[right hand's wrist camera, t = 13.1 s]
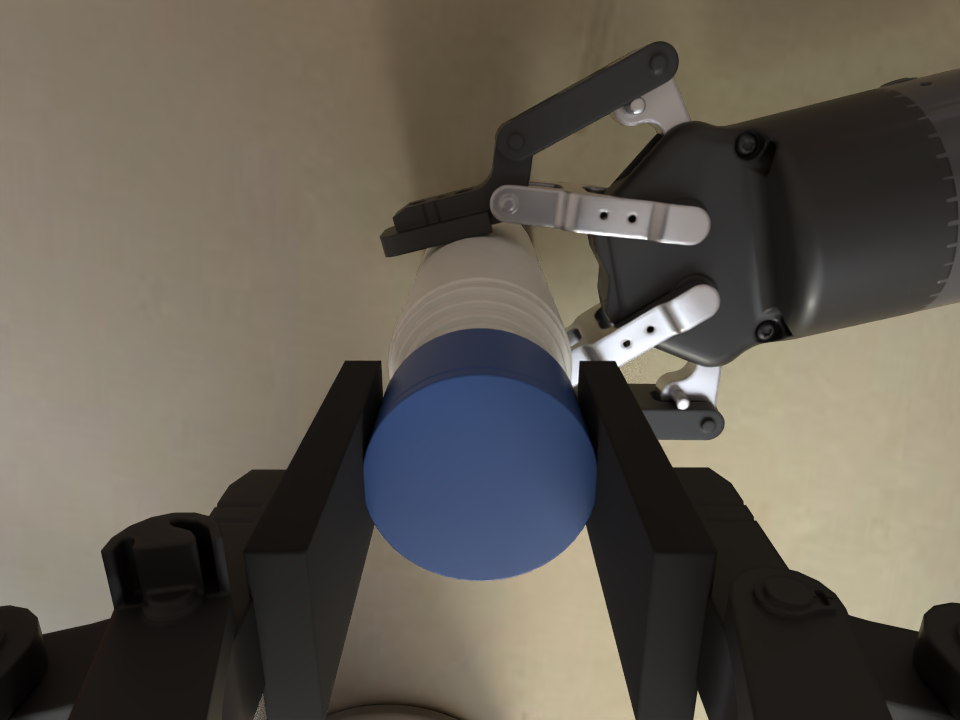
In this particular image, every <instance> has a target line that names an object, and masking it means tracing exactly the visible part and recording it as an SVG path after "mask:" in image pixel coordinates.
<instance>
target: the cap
mask: <svg viewBox="0 0 960 720" xmlns="http://www.w3.org/2000/svg"><path fill="white" fill-rule="evenodd" d="M363 472H364V487H365V500H366V506H367V509H368V511H369V514H370V516H371V518H372V520H373V522H374V524H375V525H376V527H377V529H378V530H379V532H380V533H381V534H382V536H383V537H384V538H385V540H386V541H387V542H388V543H389V544H390V545H391V546H392V547H393V548H394V549H395V550H396V551H398V552H399V553H400V554H401V555H402V556H404V557H405V558H406V559H408V560H410V561H411V562H413V563H414V564H416V565H418V566H420V567H422V568H424V569H426V570H428V571H430V572H433V573H436V574H439V575H442V576H445V577H450V578H454V579H459V580H468V581H492V580H501V579H506V578H511V577H515V576H518V575H521V574H524V573H527V572H530V571H532V570H534V569H536V568H539V567H541V566H543V565H544V564H546V563H548V562H549V561H551V560H552V559H554V558H555V557H557V556H558V555H559V554H560V553H562V552H563V551H564V550H565V549H566V548H567V547H568V546H569V545H570V544H571V543H572V542H573V541H574V540H575V539H576V537H577V536H578V535H579V533H580V532H581V531H582V529H583V528H584V526H585V524H586V522H587V521H588V519H589V517H590V515H591V512H592V510H593V507H594V504H595V493H596V478H597V458H596V454H595V449H594V446H593V443H592V440H591V438H590V435H589V432H588V429H587V426H586V423H585V420H584V417H583V414H582V411H581V408H580V405H579V402H578V399H577V396H576V393H575V391H574V388H573V385H572V383H571V381H570V379H569V377H568V376H567V374H566V372H565V371H564V369H563V368H562V367H561V366H560V364H559V363H558V362H557V361H556V360H555V359H554V358H553V357H552V356H551V355H550V354H549V353H548V352H547V351H545V350H544V349H543V348H541V347H540V346H539V345H537V344H535V343H534V342H532V341H530V340H528V339H527V338H524V337H522V336H519V335H517V334H514V333H510V332H506V331H503V330H497V329H489V328H472V329H464V330H458V331H454V332H450V333H446V334H444V335H441V336H439V337H436V338H434V339H432V340H430V341H428V342H427V343H425V344H423V345H422V346H420V347H419V348H418V349H416V350H415V351H413V352H412V353H411V354H410V355H409V356H408V357H407V358H406V359H405V360H404V361H403V362H402V363H401V365H400V366H399V367H398V369H397V370H396V371H395V373H394V375H393V376H392V378H391V380H390V381H389V384H388V386H387V389H386V391H385V394H384V397H383V400H382V403H381V406H380V409H379V412H378V415H377V418H376V421H375V424H374V427H373V430H372V433H371V436H370V439H369V442H368V444H367V447H366V451H365V455H364V459H363Z"/></svg>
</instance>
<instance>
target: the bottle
mask: <svg viewBox="0 0 960 720" xmlns="http://www.w3.org/2000/svg"><path fill="white" fill-rule="evenodd" d="M492 230H493V233H489V234H484V235H480V236H476V237H472V238H466V239H462V240H458V241H455V242H452V243H447V244H443V245H439V246H435V247H431V248H427V249H426V252H425V254H424V257H423V259H422V262H421V265H420V267H419V270H418V272H417V275H416V277H415V280H414V283H413V285H412V288H411V290H410V293H409V295H408V298H407V301H406V303H405V306H404V308H403V311H402V313H401V316H400V319H399V321H398V324H397V326H396V329H395V332H394V334H393V337H392V340H391V344H390V348H389V356H388V370H389V381H390V380H391V378H392V376H393V375H394V373H395V371H396V370H397V369H398V367H399V366H400V365H401V363H402V362H403V361H404V360H405V359H406V358H407V357H408V356H409V355H410V354H411V353H412V352H413V351H415V350H416V349H418V348H419V347H420V346H422V345H423V344H425V343H427V342H428V341H430V340H432V339H434V338H436V337H439V336H441V335H444V334H446V333H450V332H454V331H458V330H464V329H472V328H489V329H497V330H503V331H506V332H510V333H514V334H517V335H519V336H522V337H524V338H527V339H528V340H530V341H532V342H534V343H535V344H537V345H539V346H540V347H541V348H543V349H544V350H545V351H547V352H548V353H549V354H550V355H551V356H552V357H553V358H554V359H555V360H556V361H557V362H558V363H559V364H560V366H561V367H562V368H563V369H564V371H565V372H566V374H567V376H568V377H569V379H570V381H571V374H572V352H571V346H570V342H569V338H568V336H567V333H566V330H565V328H564V325H563V323H562V320H561V317H560V315H559V312H558V310H557V307H556V305H555V302H554V299H553V297H552V294H551V292H550V289H549V287H548V284H547V281H546V279H545V276H544V274H543V271H542V268H541V266H540V263H539V261H538V258H537V256H536V253H535V250H534V248H533V245H532V243H531V240H530V238H529V236H528V234H527V232H526V230H525V229H524V228H523V227H522V225H521V224H513V223H505V222H502V223H498V224H494V225H492Z"/></svg>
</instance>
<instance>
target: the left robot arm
mask: <svg viewBox="0 0 960 720" xmlns="http://www.w3.org/2000/svg"><path fill="white" fill-rule="evenodd" d="M678 63H679V59H678V54H677V52H676V50H675V49H674V47H673V46H672V45H670V44H669V43H666V42H662V41H659V42H654V43H651V44H649V45H646V46H644V47H641V48H639V49H636V50H634V51H632V52H630V53H628V54H627V55H625V56H623V57H621V58H619V59H618V60H616V61H614V62H612V63H610V64H609V65H607V66H605V67H603V68H601V69H600V70H598V71H596V72H594V73H592V74H591V75H589V76H587V77H585V78H584V79H582V80H580V81H578V82H576V83H575V84H573V85H571V86H569V87H567V88H566V89H564V90H562V91H560V92H558V93H557V94H555V95H553V96H551V97H549V98H548V99H546V100H544V101H542V102H540V103H539V104H537V105H535V106H533V107H532V108H530V109H528V110H526V111H524V112H523V113H521V114H519V115H517V116H515V117H514V118H512V119H510V120H508V121H506V122H505V123H503V124H502V125H501V126H500V127H499V128H498V130H497V132H496V136H495V148H494V157H493V166H492V170H491V173H490V175H489V177H488V178H487V179H486V180H485V181H484V182H483V183H481V184H480V185H477V186H474V187H470V188H466V189H462V190H458V191H454V192H450V193H446V194H442V195H439V196H434V197H430V198H427V199H422V200H418V201H414V202H410V203H409V204H407V205H406V206H405V207H403V208H402V209H401V210H399V211H398V212H397V213H396V214H395V215H394V217H393V221H394V224H395V226H393V227H390V228H388V229H386V230H385V231H384V232H383V233H382V234H381V236H380V239H381V243H382V246H383V249H384V253H385V256H386V257H393V256H398V255H402V254H406V253H410V252H415V251H419V250H423V249H427V248H431V247H435V246H439V245H443V244H447V243H452V242H455V241H458V240H462V239H466V238H472V237H476V236H480V235H484V234H489V233H493V230H492V225H494V224H498V223H502V222H505V223H513V224H522V225H532V226H542V227H551V228H558V229H562V230H565V231H569V232H576V233H586V234H588V239H589V244H590V247H591V249H592V251H593V253H594V255H595V257H596V259H597V261H598V263H599V274H598V286H597V287H598V292H599V298H600V303H599V304H597V305H595V306H594V307H592V308H591V309H589V310H587V311H586V312H584V313H582V314H581V315H580V316H578V317H577V318H576V319H575V321H574V322H573V324H572V325H570V326H569V327H567V328H566V329H565V330H566V333H567V336H568V338H569V342H570V346H571V352H572V374H571V383H572V385H573V388H574V391H575V393H576V396H577V394H578V376H579V361H616V363H617V365H618V367H620V366H622V365H624V364H625V363H627V362H629V361H631V360H632V359H634V358H636V357H637V356H639V355H641V354H642V353H644V352H646V351H648V350H649V349H651V348H653V347H654V348H657V349H659V350H662V351H664V352H667V353H669V354H672V355H674V356H677V357H679V358H682V359H684V360H687V361H688V362H687V364H686V365H685V366H684V367H683V368H682V369H680V370H678V371H675V372H669V373H666V374H664V375H662V376H661V377H660V378H659V379H658V380H657V382H656V384H628V386H629V387H630V389H631V391H632V393H633V395H634V397H635V399H636V400H637V402H638V404H639V406H640V408H641V410H642V412H643V413H644V415H645V417H646V419H647V421H648V423H649V425H650V426H651V428H652V430H653V432H654V434H655V436H656V438H657V439H658V440H710V439H713V438H715V437H717V436H718V435H719V434H720V433H721V432H722V431H723V429H724V425H725V422H724V418H723V416H722V415H721V414H720V412H719V411H718V409H717V407H716V402H717V395H718V388H719V381H720V374H721V367H722V366H723V365H725V364H728V363H730V362H731V361H733V360H734V359H735V358H737V357H738V356H739V355H740V354H742V353H743V352H745V351H746V350H748V349H750V348H752V347H754V346H756V345H758V344H762V343H768V342H776V341H785V340H791V339H797V338H801V337H806V336H810V335H815V334H819V333H823V332H828V331H832V330H837V329H841V328H846V327H850V326H855V325H859V324H864V323H868V322H872V321H877V320H882V319H887V318H891V317H896V316H900V315H905V314H909V313H913V312H917V311H922V310H926V309H931V308H935V307H940V306H944V305H949V304H953V303H958V302H960V69H955V70H951V71H946V72H942V73H937V74H933V75H929V76H925V77H921V78H903V79H899V80H895V81H892V82H889V83H886V84H884V85H882V86H881V87H880V88H878V89H873V90H869V91H865V92H861V93H857V94H853V95H849V96H845V97H841V98H837V99H833V100H829V101H825V102H821V103H817V104H813V105H809V106H805V107H801V108H797V109H793V110H789V111H785V112H781V113H777V114H773V115H769V116H765V117H761V118H757V119H753V120H749V121H745V122H741V123H737V124H733V125H728V126H714V125H710V124H707V123H704V122H700V121H691V120H690V117H689V115H688V112H687V110H686V107H685V105H684V102H683V99H682V97H681V94H680V92H679V89H678V87H677V84H676V82H675V79H674V77H673V76H674V75H675V73H676V71H677V69H678ZM608 114H610V116H611V117H612V119H613V120H614V121H615V122H616V123H618V124H620V125H626V126H635V125H639V124H641V123H648V124H650V125H652V126H653V127H654V128H655V130H656V132H657V134H656V135H655V136H654V137H653V139H652V140H651V141H650V142H649V143H648V144H647V145H646V146H645V148H644V149H643V150H642V151H641V152H640V153H639V154H638V155H637V157H636V158H635V159H634V160H633V161H632V162H631V163H630V164H629V165H628V167H627V168H626V169H625V170H624V171H623V172H622V173H621V174H620V176H619V177H618V178H617V179H616V180H615V181H614V182H613V183H612V185H611V186H610V187H602V186H593V185H583V184H574V183H563V182H558V183H554V182H544V181H534V180H529V179H530V172H531V164H532V157H533V155H534V154H536V153H538V152H540V151H542V150H544V149H545V148H547V147H549V146H551V145H553V144H555V143H556V142H558V141H560V140H562V139H564V138H566V137H568V136H569V135H571V134H573V133H575V132H577V131H579V130H580V129H582V128H584V127H586V126H588V125H590V124H591V123H593V122H595V121H597V120H599V119H601V118H602V117H604V116H606V115H608ZM625 340H627V341H626V342H624V341H625Z"/></svg>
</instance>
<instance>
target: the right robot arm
mask: <svg viewBox="0 0 960 720" xmlns="http://www.w3.org/2000/svg"><path fill="white" fill-rule="evenodd" d="M577 399H578V402H579V405H580V408H581V411H582V414H583V417H584V420H585V423H586V426H587V429H588V432H589V435H590V438H591V440H592V443H593V446H594V449H595V454H596V458H597V478H596V493H595V504H594V507H593V510H592V512H591V515H590V517H589V519H588V521H587V522H586V527H587V531H588V535H589V539H590V542H591V546H592V550H593V554H594V558H595V562H596V566H597V570H598V574H599V578H600V582H601V586H602V590H603V593H604V597H605V601H606V605H607V609H608V613H609V617H610V621H611V625H612V629H613V633H614V637H615V641H616V645H617V648H618V652H619V656H620V660H621V664H622V668H623V672H624V676H625V680H626V684H627V688H628V692H629V696H630V700H631V703H632V707H633V711H634V715H635V719H636V720H693V718H694V711H695V704H696V698H697V691H698V692H699V695H700V698H701V700H702V703H703V706H704V708H705V711H706V714H707V716H708V719H709V720H960V603H947V604H941V605H936V606H933V607H932V608H931V609H930V610H929V611H927V612H926V613H925V614H924V616H923V620H922V623H921V627H920V630H919V632H918V631H913V630H909V629H904V628H899V627H895V626H890V625H885V624H881V623H876V622H872V621H868V620H864V619H861V618H857V617H854V616H850V615H848V612H847V610H846V608H845V607H844V605H843V604H842V602H841V601H840V600H839V598H838V597H837V595H836V594H835V593H834V592H832V591H831V590H830V589H828V588H827V587H826V586H824V585H823V584H822V583H820V582H819V581H817V580H815V579H813V578H811V577H809V576H806V575H804V574H802V573H800V572H798V571H793V570H789V568H788V567H787V565H786V564H785V562H784V561H783V559H782V558H781V556H780V555H779V554H778V552H777V551H776V549H775V548H774V546H773V545H772V543H771V542H770V540H769V539H768V537H767V536H766V534H765V533H764V531H763V530H762V528H761V527H760V525H759V524H758V522H757V521H754V516H753V515H752V513H751V512H750V510H749V509H748V507H747V506H746V505H744V503H743V502H744V501H743V500H742V498H741V497H740V496H739V494H738V493H737V491H736V490H735V488H734V487H733V485H732V484H731V483H730V482H729V481H727V480H726V479H724V478H723V477H722V476H720V475H719V474H717V473H716V472H714V471H713V470H711V469H710V468H673V467H672V465H671V464H670V462H669V460H668V458H667V456H666V454H665V452H664V451H663V449H662V447H661V445H660V443H659V441H658V439H657V438H656V436H655V434H654V432H653V430H652V428H651V426H650V425H649V423H648V421H647V419H646V417H645V415H644V413H643V412H642V410H641V408H640V406H639V404H638V402H637V400H636V399H635V397H634V395H633V393H632V391H631V389H630V387H629V386H628V384H627V382H626V380H625V378H624V376H623V374H622V373H621V371H620V369H619V367H618V365H617V363H616V361H579V376H578V394H577ZM382 400H383V387H382V368H381V361H345V362H344V364H343V366H342V368H341V370H340V371H339V373H338V375H337V377H336V379H335V381H334V383H333V384H332V386H331V388H330V390H329V392H328V394H327V396H326V397H325V399H324V401H323V403H322V405H321V407H320V409H319V410H318V412H317V414H316V416H315V418H314V420H313V422H312V424H311V425H310V427H309V429H308V431H307V433H306V435H305V437H304V438H303V440H302V442H301V444H300V446H299V448H298V450H297V451H296V453H295V455H294V457H293V459H292V461H291V463H290V464H289V466H288V468H287V470H251V471H249V472H248V473H247V474H245V475H244V476H242V477H241V478H239V479H238V480H237V481H235V482H234V483H232V484H231V485H229V487H228V488H227V490H226V491H225V493H224V494H223V496H222V497H221V499H220V500H219V502H218V503H217V507H215V508H214V509H213V511H212V512H211V514H210V515H209V516H206V515H202V514H198V513H170V514H165V515H161V516H156V517H151V518H149V519H146V520H144V521H141V522H139V523H136V524H133V525H131V526H129V527H127V528H126V529H124V530H123V531H121V532H120V533H118V534H117V535H115V536H114V537H112V538H111V539H110V541H109V542H108V543H107V544H106V545H105V547H104V548H103V549H102V550H101V554H102V558H103V562H104V567H105V571H106V575H107V579H108V584H109V588H110V592H111V597H112V601H113V605H114V611H113V614H112V616H111V618H110V619H107V620H103V621H100V622H96V623H93V624H88V625H84V626H79V627H75V628H70V629H65V630H61V631H56V632H52V633H47V634H42V632H41V628H40V625H39V621H38V618H37V617H36V616H35V615H34V614H33V613H32V612H31V611H30V610H28V609H26V608H21V607H15V606H10V605H9V606H0V720H253V718H254V716H255V713H256V710H257V707H258V705H259V702H260V699H261V697H262V694H263V695H264V701H265V708H266V715H267V720H457V719H455V718H452V717H450V716H448V715H445V714H442V713H439V712H436V711H432V710H428V709H424V708H419V707H412V706H404V705H370V706H363V707H356V708H352V709H347V710H343V711H340V712H337V713H334V714H331V715H328V716H326V713H327V709H328V705H329V701H330V697H331V693H332V689H333V685H334V682H335V678H336V674H337V670H338V666H339V662H340V658H341V654H342V650H343V646H344V642H345V638H346V634H347V630H348V627H349V623H350V619H351V615H352V611H353V607H354V603H355V599H356V595H357V591H358V587H359V583H360V579H361V575H362V572H363V568H364V564H365V560H366V556H367V552H368V548H369V544H370V540H371V536H372V532H373V528H374V522H373V520H372V518H371V516H370V514H369V511H368V509H367V506H366V500H365V487H364V472H363V459H364V455H365V451H366V447H367V444H368V442H369V439H370V436H371V433H372V430H373V427H374V424H375V421H376V418H377V415H378V412H379V409H380V406H381V403H382Z"/></svg>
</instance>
